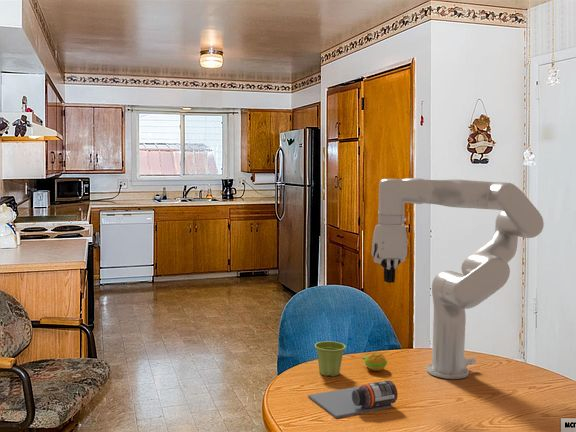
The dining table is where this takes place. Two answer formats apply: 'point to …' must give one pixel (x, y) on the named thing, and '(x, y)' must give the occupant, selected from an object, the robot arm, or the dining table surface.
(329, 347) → the plant pot
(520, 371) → the dining table surface
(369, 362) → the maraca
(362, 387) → the supplement bottle
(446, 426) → the dining table surface
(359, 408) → the mat
